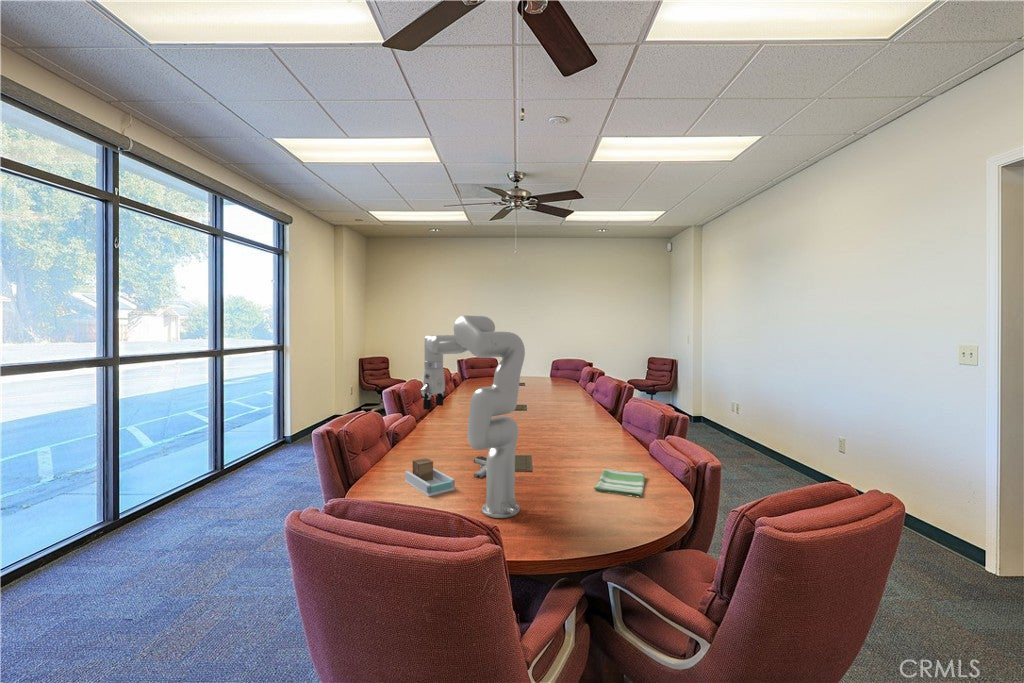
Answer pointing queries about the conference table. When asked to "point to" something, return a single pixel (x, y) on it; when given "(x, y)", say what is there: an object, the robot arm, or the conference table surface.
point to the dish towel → (621, 482)
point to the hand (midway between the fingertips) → (433, 407)
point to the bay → (431, 483)
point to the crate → (423, 469)
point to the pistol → (481, 466)
